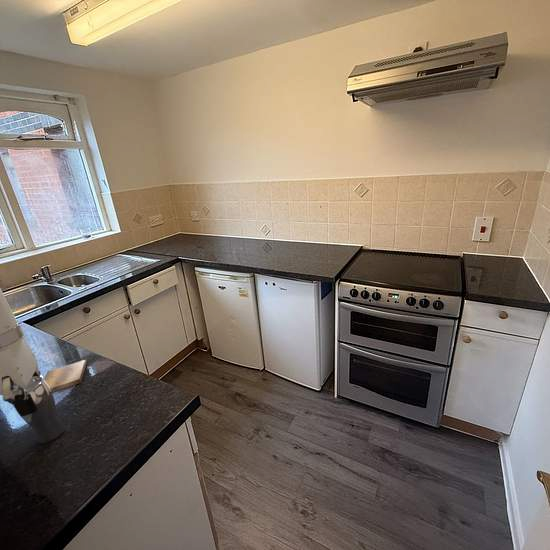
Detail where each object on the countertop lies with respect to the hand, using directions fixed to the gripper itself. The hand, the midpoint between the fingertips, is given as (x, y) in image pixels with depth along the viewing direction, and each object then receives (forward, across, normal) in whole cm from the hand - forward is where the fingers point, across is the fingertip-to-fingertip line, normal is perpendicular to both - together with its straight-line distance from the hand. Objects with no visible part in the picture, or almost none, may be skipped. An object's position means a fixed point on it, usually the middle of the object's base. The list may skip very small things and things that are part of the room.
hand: (34, 401), depth 70 cm
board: (+10, -24, -2) cm, 26 cm away
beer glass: (+10, 0, 0) cm, 10 cm away
